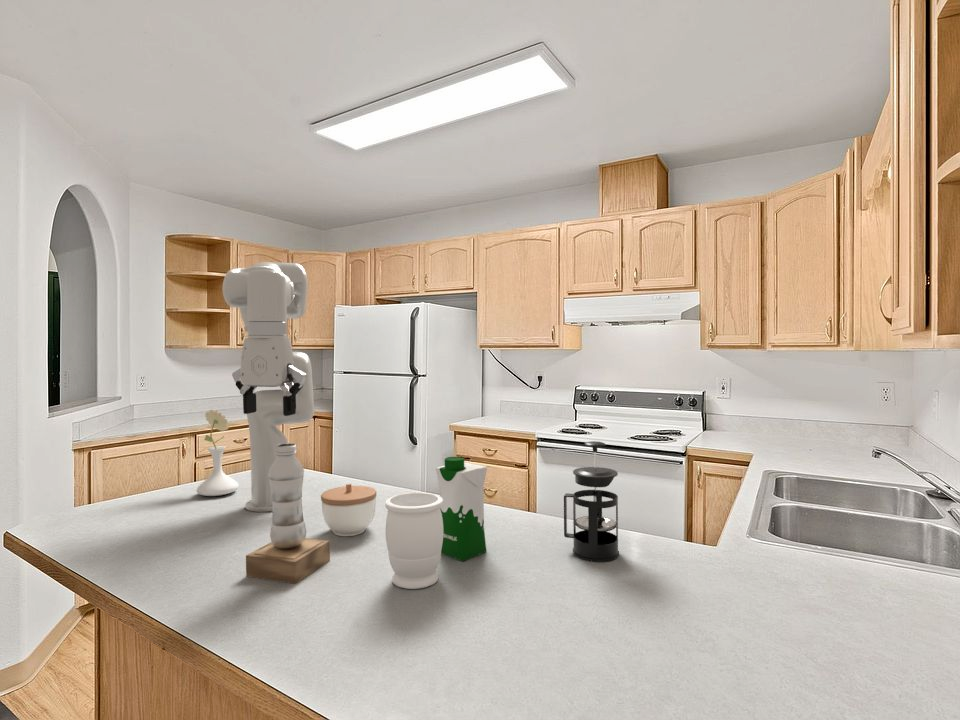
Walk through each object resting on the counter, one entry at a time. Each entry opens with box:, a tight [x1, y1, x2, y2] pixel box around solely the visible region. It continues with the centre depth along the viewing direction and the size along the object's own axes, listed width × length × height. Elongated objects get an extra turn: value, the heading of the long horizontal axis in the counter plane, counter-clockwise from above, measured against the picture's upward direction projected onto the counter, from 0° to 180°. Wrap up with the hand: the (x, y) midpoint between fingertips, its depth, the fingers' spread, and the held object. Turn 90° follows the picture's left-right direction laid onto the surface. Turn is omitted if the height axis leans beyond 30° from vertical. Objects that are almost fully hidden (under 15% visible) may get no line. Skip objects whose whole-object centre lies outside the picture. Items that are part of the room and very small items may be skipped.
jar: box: [385, 492, 443, 590], centre depth 99 cm, size 11×10×15 cm
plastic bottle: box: [268, 442, 307, 549], centre depth 105 cm, size 6×7×20 cm
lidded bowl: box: [320, 483, 377, 537], centre depth 126 cm, size 13×13×11 cm
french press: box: [563, 440, 620, 563], centre depth 111 cm, size 12×9×23 cm
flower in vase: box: [196, 408, 240, 497], centre depth 160 cm, size 13×11×25 cm
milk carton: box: [435, 456, 488, 562], centre depth 112 cm, size 9×9×20 cm
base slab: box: [245, 537, 331, 584], centre depth 105 cm, size 11×11×4 cm
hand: (269, 413), depth 111 cm, fingers open, 9 cm apart
